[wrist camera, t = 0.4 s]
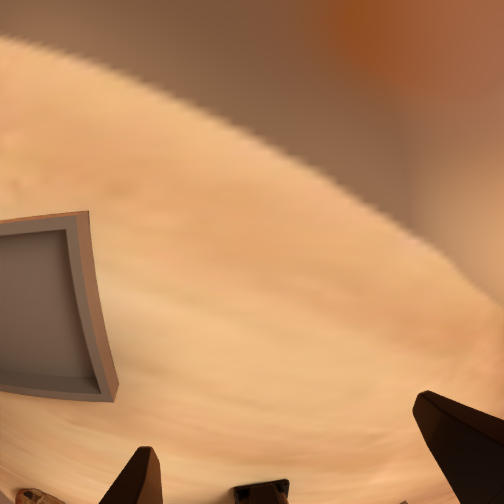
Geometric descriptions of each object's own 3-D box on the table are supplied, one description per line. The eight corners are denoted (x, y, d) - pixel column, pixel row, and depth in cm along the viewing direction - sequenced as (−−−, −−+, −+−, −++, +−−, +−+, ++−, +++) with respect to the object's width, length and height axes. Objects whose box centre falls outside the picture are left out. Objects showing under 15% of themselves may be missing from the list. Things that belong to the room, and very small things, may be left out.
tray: (118, 383, 22) (113, 402, 20) (-7, 373, 20) (-18, 387, 17) (88, 210, 19) (76, 215, 17) (-46, 227, 16) (-63, 233, 14)
